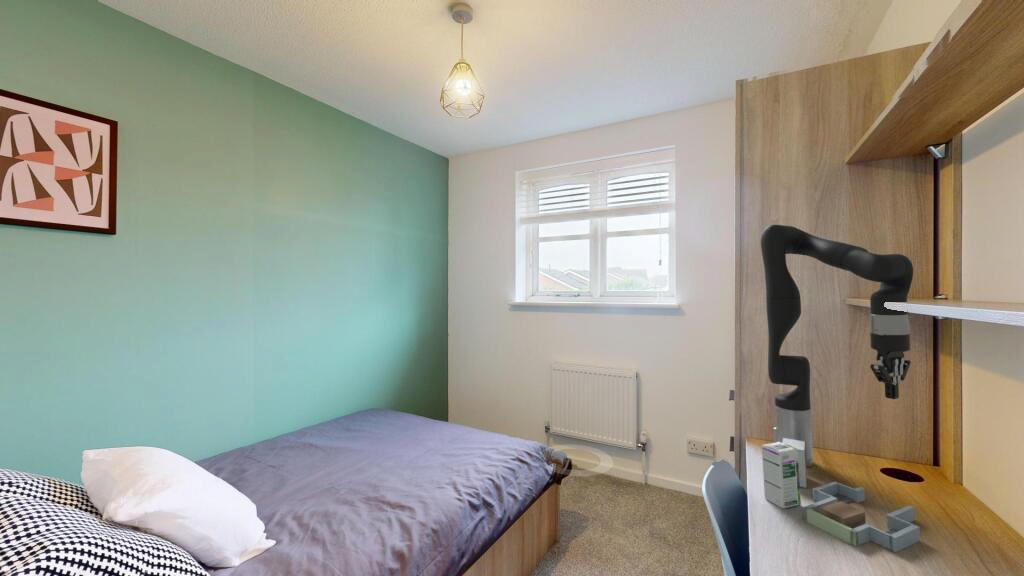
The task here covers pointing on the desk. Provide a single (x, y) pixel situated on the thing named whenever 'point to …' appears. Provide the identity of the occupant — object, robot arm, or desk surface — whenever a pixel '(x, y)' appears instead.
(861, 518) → the walnut block
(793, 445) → the small box
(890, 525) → the trap channel
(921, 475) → the desk surface
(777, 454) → the syrup box
